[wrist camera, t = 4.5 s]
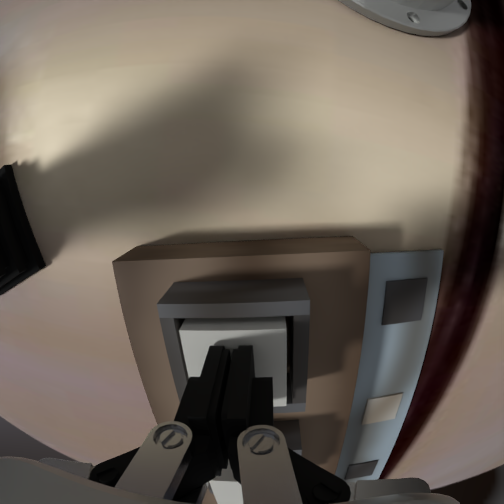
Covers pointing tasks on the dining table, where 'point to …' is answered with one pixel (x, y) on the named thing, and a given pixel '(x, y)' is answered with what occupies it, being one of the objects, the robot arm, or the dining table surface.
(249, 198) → the dining table surface
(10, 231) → the chess piece
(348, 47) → the dining table surface
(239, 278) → the board
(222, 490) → the button middle
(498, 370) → the dining table surface
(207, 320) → the button
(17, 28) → the dining table surface
